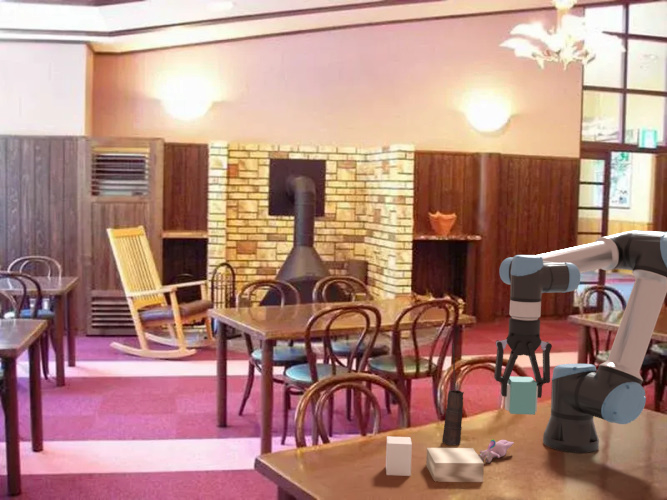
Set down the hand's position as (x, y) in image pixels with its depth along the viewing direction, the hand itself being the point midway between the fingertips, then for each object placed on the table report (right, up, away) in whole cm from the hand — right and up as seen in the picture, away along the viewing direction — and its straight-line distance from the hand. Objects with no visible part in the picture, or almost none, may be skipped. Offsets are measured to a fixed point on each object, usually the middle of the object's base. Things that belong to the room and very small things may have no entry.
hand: (520, 409), depth 207 cm
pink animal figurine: (-3, -16, +15) cm, 22 cm away
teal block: (0, 0, 0) cm, 0 cm away
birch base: (-16, -17, +2) cm, 23 cm away
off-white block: (-30, -16, +2) cm, 34 cm away
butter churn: (-13, -15, +27) cm, 33 cm away
